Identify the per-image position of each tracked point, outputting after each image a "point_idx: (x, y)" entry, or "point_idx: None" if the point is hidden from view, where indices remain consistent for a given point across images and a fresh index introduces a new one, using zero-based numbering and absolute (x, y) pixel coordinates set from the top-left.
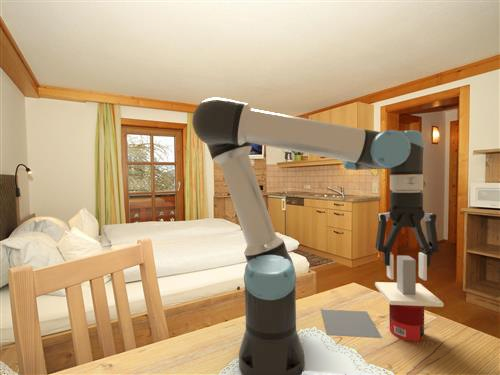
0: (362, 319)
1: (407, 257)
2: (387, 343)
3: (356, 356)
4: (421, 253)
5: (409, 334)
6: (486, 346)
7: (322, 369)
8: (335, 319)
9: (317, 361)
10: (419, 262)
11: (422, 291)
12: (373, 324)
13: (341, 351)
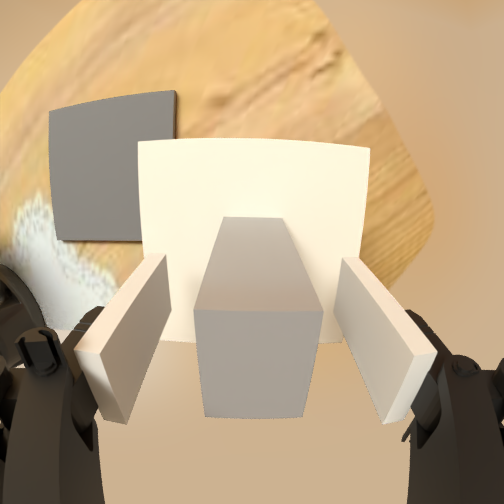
0: None
1: (274, 367)
2: None
3: None
4: (408, 384)
5: None
6: (412, 242)
7: (66, 328)
8: (75, 161)
9: (57, 310)
10: (374, 315)
11: (329, 249)
12: None
13: (88, 283)
